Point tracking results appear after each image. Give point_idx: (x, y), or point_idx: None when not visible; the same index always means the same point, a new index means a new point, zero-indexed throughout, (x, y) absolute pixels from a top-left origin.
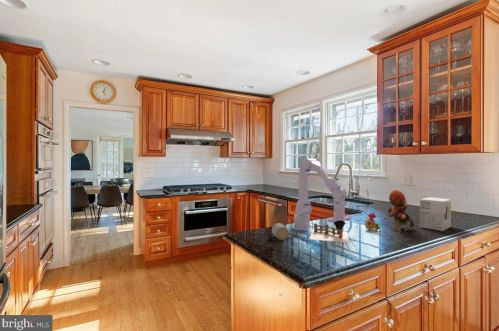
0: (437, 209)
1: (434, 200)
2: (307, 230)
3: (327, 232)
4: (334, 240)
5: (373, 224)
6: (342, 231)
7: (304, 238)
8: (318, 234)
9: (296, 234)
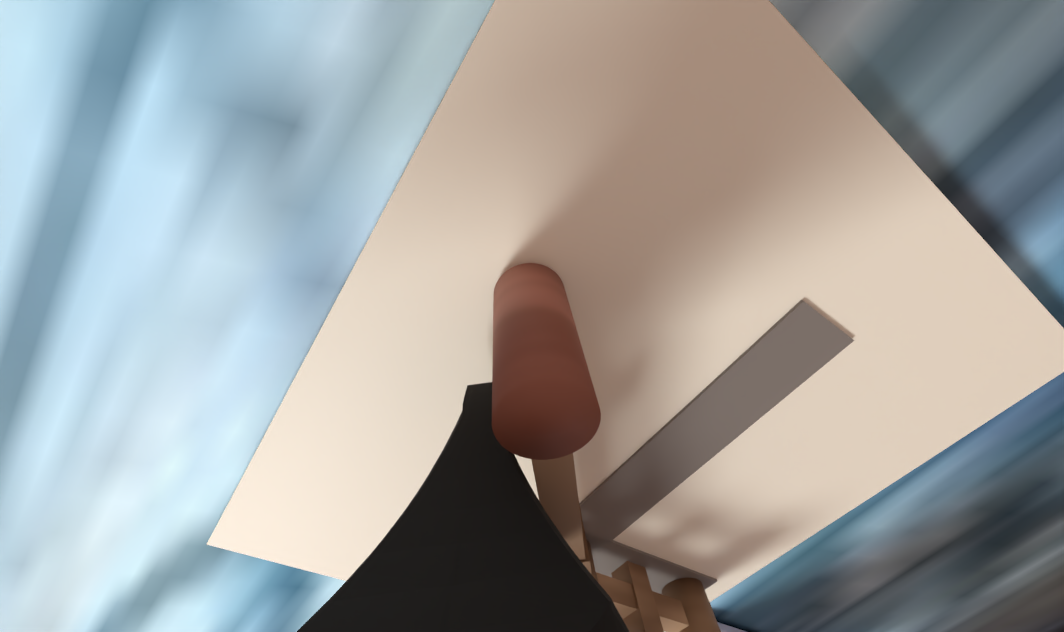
0: None
1: None
2: (722, 629)
3: None
4: (798, 159)
5: None
6: (512, 351)
7: (1020, 427)
8: (741, 507)
9: (927, 558)
